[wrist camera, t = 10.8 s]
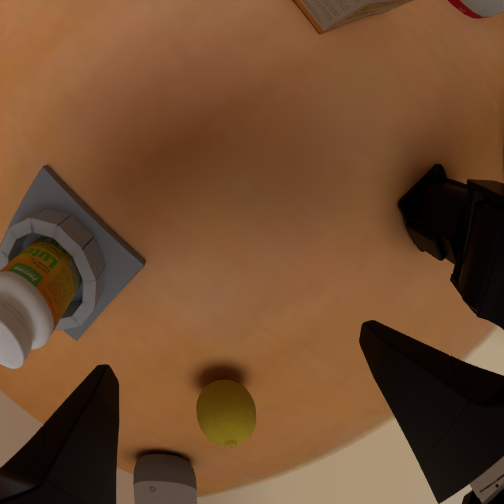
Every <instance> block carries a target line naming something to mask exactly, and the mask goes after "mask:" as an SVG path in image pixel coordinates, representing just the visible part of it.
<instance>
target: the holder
mask: <svg viewBox="0 0 504 504" xmlns="http://www.w3.org/2000/svg"><path fill="white" fill-rule="evenodd" d="M42 236H48V237H51V238H54V239H55V240H56V241H57V242H58V243H59V244H60V245H61V246H62V247H63V248H64V249H65V250H66V251H67V252H68V253H70V254H71V255H72V256H73V258H74V261H75V263H76V265H77V268H78V270H79V272H80V274H81V277H82V279H83V280H82V284H81V286H80V288H79V290H78V291H77V293H76V295H75V296H74V298H73V299H72V301H71V302H70V304H69V306H68V307H67V309H66V311H65V312H64V314H63V316H62V318H61V319H60V321H59V323H58V324H57V326H56V328H55V329H56V330H58V329H59V330H63V331H65V332H66V333H67V334H68V335H70V336H71V337H72V338H74V339H75V340H76V341H77V340H78V339H79V338H80V337H81V335H82V334H83V333H84V332H85V331H86V330H87V328H88V327H89V326H90V325H91V324H92V323H93V321H94V320H95V319H96V318H97V317H98V316H99V314H100V313H101V312H102V311H103V310H104V309H105V308H106V307H107V305H108V304H109V303H110V302H111V301H112V300H113V299H114V298H115V297H116V295H117V294H118V293H119V292H120V291H121V290H122V289H123V288H124V287H125V286H126V285H127V283H128V282H129V281H130V280H131V279H132V278H133V277H134V276H135V275H136V274H137V273H138V272H139V271H140V270H141V269H142V267H143V266H144V265H145V262H146V261H145V260H144V259H143V258H142V257H141V256H140V255H139V254H137V253H136V252H135V251H134V250H133V249H132V248H131V247H130V246H129V245H128V244H126V243H125V242H124V241H123V240H122V239H121V238H120V237H119V236H118V235H117V234H116V233H114V232H113V231H112V230H111V229H110V228H109V227H108V226H107V225H106V224H105V223H104V222H103V221H102V220H101V219H100V218H99V217H98V216H97V215H96V214H95V213H94V212H93V211H91V210H90V209H89V208H88V207H87V206H86V205H85V204H84V203H83V202H82V201H81V200H80V199H79V198H78V197H77V196H76V195H75V194H74V192H73V191H72V190H71V189H70V188H69V187H68V186H67V185H66V184H65V183H64V182H63V181H62V180H61V179H60V178H59V177H58V176H57V175H56V174H55V173H54V172H53V170H52V169H51V168H50V167H49V166H48V165H47V166H43V167H42V168H41V170H40V172H39V173H38V175H37V176H36V178H35V180H34V181H33V183H32V185H31V186H30V188H29V190H28V191H27V193H26V195H25V197H24V198H23V200H22V202H21V204H20V206H19V208H18V210H17V211H16V213H15V215H14V217H13V219H12V221H11V223H10V225H9V227H8V230H7V232H6V234H5V236H4V238H3V240H2V243H1V245H0V271H1V270H2V269H3V268H4V267H5V266H6V265H7V264H8V263H9V262H10V261H12V260H13V259H14V258H15V257H16V256H17V255H18V254H20V253H21V252H22V251H23V250H24V249H25V248H27V247H28V246H29V245H30V244H31V243H33V242H34V241H35V240H37V239H38V238H40V237H42Z"/></svg>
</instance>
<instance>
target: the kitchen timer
mask: <svg viewBox="0 0 504 504" xmlns="http://www.w3.org/2000/svg"><path fill="white" fill-rule="evenodd" d="M448 1H449V2H450V3H451V4H452V5H453V6H454V7H456V8H457V9H458V10H460V11H461V12H462V13H464V14H465V15H467V16H470V17H472V18H486V17H491V16H494V15H497V14H499V13H500V12H502V11H504V0H448Z"/></svg>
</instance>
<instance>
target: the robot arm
mask: <svg viewBox="0 0 504 504" xmlns="http://www.w3.org/2000/svg"><path fill="white" fill-rule="evenodd" d="M438 169H439V170H438ZM403 204H404V206H403ZM398 207H399V209H400V211H401V213H402V215H403V217H404V219H405V221H406V228H407V230H408V232H409V234H410V236H411V238H412V240H413V243H414V244H415V245H417V247H418V249H419V250H420V251H422V252H424V251H426V252H427V253H429V254H430V255H432V256H433V257H435V258H436V259H438V260H440V261H443V260H444V259H447V260H448V261H450V262H451V263H453V264H454V265H455V266H454V270H453V274H451V278H450V281H451V282H452V284H453V285H454V286H455V288H456V289H457V290H458V292H459V293H460V295H461V296H462V299H463V301H464V302H465V303H466V304H467V305H468V306H469V308H470V309H471V310H472V311H473V312H474V313H475V314H476V316H477V317H479V318H483V319H486V320H489V321H491V322H493V323H495V324H496V325H498V326H499V327H501V328H502V329H503V330H504V183H500V182H497V181H491V180H473V179H467V184H464V183H461V182H458V181H455V180H452V179H449V178H447V176H446V173H445V171H444V168H443V166H442V165H441V164H436V165H435V166H434V167H433V168H432V169H431V170H430V171H429V172H428V173H427V174H426V175H425V176H424V177H423V178H422V179H421V180H420V181H419V182H418V183H417V184H416V185H415V186H414V187H413V188H412V189H411V190H410V191H409V192H408V193H407V194H406V195H405V196H404V197H403V198H402V199H401V200H400V201H399V203H398ZM359 343H360V346H361V349H362V351H363V353H364V356H365V358H366V361H367V363H368V365H369V368H370V370H371V373H372V375H373V377H374V379H375V381H376V383H377V385H378V386H379V388H380V390H381V392H382V394H383V396H384V397H385V399H386V401H387V403H388V405H389V407H390V408H391V410H392V412H393V414H394V416H395V418H396V419H397V422H398V423H399V425H400V427H401V429H402V431H403V433H404V435H405V437H406V439H407V440H408V443H409V445H410V447H411V448H412V451H413V453H414V455H415V456H416V459H417V461H418V462H419V465H420V467H421V469H422V471H423V473H424V475H425V477H426V479H427V481H428V483H429V486H430V488H431V490H432V492H433V494H434V496H435V498H436V500H437V502H438V504H440V503H441V502H443V501H445V500H446V499H447V498H449V497H451V496H452V495H454V494H455V493H457V492H458V491H460V490H461V489H463V488H464V487H465V486H467V485H468V484H470V486H471V487H472V489H473V490H472V491H470V492H469V493H468V494H466V495H465V496H464V499H463V502H462V504H504V376H503V375H500V374H497V373H494V372H491V371H488V370H485V369H482V368H479V367H477V366H474V365H471V364H468V363H466V362H464V361H461V360H459V359H457V358H455V357H452V356H449V355H448V354H446V353H444V352H441V351H439V350H437V349H435V348H433V347H431V346H428V345H426V344H424V343H422V342H420V341H418V340H415V339H413V338H411V337H409V336H407V335H405V334H403V333H400V332H398V331H396V330H394V329H392V328H390V327H388V326H385V325H383V324H381V323H379V322H377V321H375V320H370V321H366V322H364V323H363V324H362V327H361V332H360V338H359ZM118 433H119V382H118V379H117V378H116V376H115V374H114V372H113V370H112V369H111V367H110V366H109V365H107V364H104V365H98V366H96V368H95V369H94V370H93V371H92V372H91V373H90V374H89V375H88V376H87V377H86V378H85V379H84V380H83V381H82V383H81V384H80V385H79V386H78V387H77V388H76V389H75V390H74V391H73V392H72V393H71V395H70V396H69V397H68V398H67V399H66V400H65V401H64V402H63V403H62V404H61V406H60V407H59V408H58V409H57V410H56V411H55V412H54V413H53V415H52V416H51V417H50V418H49V419H48V420H47V421H46V422H45V424H44V425H43V426H42V427H41V428H40V429H39V430H38V431H37V433H36V434H35V435H34V436H33V437H32V438H31V439H30V440H29V441H28V442H27V443H26V444H25V445H24V446H23V447H22V448H21V449H20V450H19V451H18V452H17V453H16V454H15V455H14V456H13V457H12V458H11V459H10V460H9V461H8V462H7V463H5V464H4V465H3V466H2V467H1V468H0V504H116V468H117V447H118Z"/></svg>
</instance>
